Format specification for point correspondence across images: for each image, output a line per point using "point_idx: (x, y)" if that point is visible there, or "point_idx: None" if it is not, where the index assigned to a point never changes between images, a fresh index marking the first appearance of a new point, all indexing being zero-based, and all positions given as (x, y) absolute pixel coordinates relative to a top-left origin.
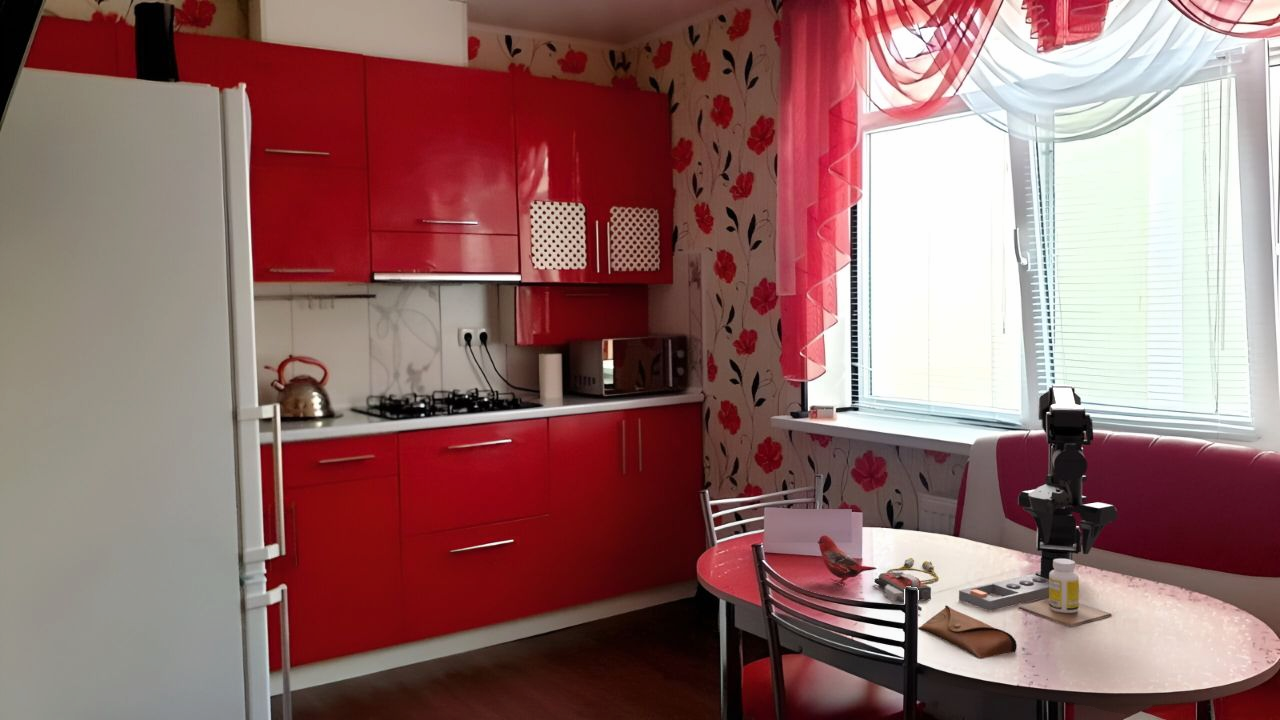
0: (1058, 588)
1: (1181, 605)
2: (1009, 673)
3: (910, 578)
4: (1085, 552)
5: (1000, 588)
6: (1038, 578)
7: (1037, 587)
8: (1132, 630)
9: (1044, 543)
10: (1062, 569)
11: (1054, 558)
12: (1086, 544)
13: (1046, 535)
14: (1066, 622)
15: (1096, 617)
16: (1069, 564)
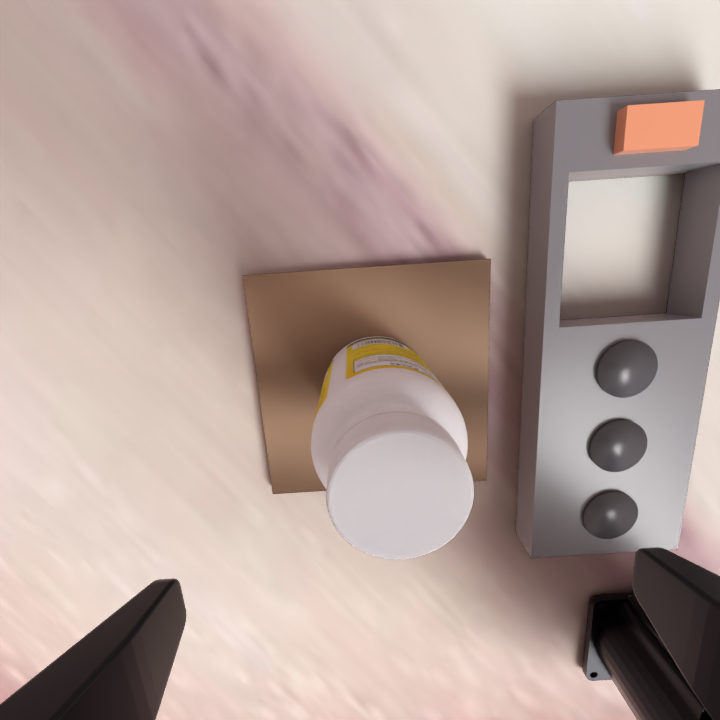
0: (360, 361)
1: (259, 715)
2: None
3: None
4: (143, 598)
5: (653, 319)
6: (623, 524)
7: (558, 445)
8: (140, 438)
9: (640, 549)
10: (359, 424)
11: (682, 683)
12: (24, 687)
13: (709, 651)
14: (264, 279)
15: (263, 421)
16: (329, 475)
